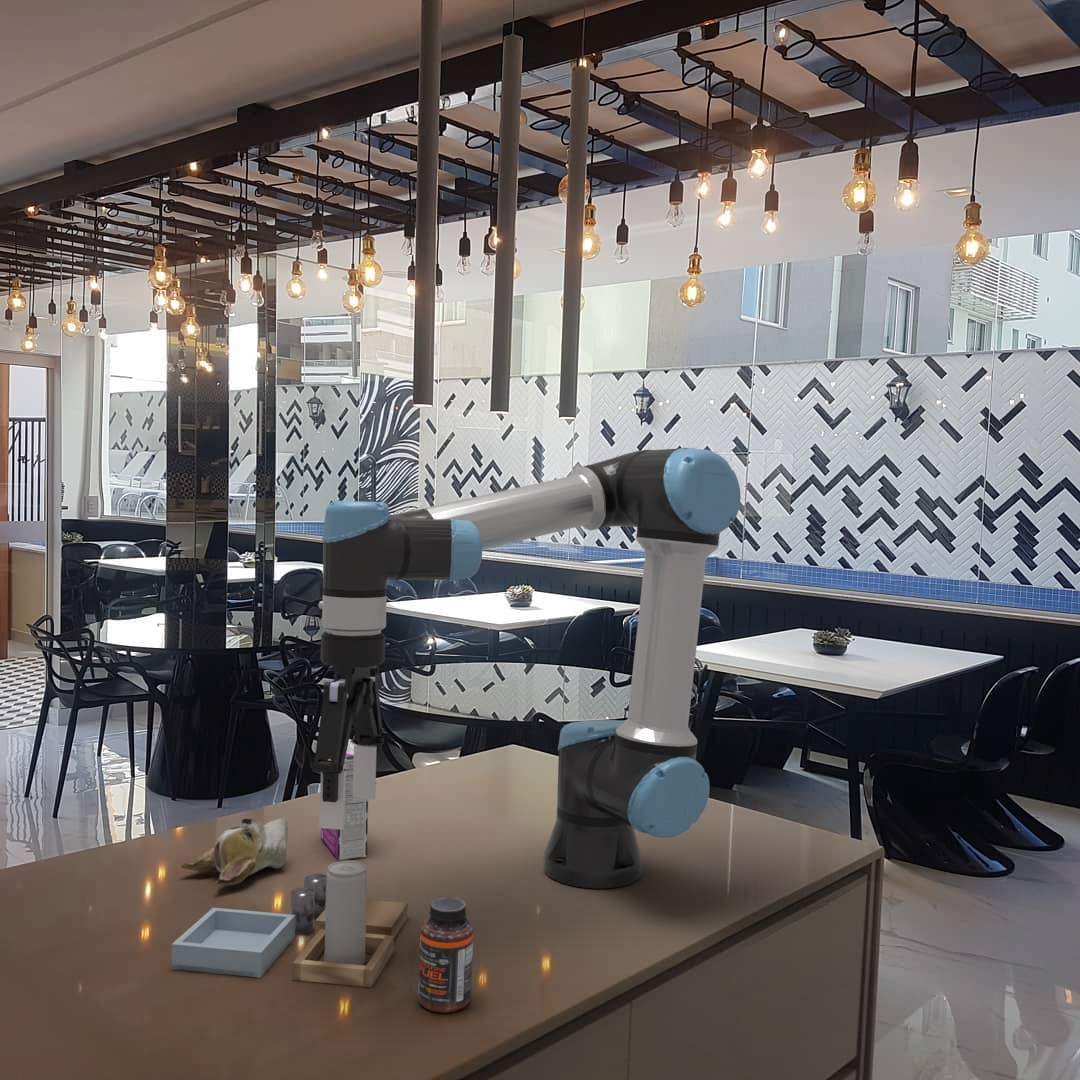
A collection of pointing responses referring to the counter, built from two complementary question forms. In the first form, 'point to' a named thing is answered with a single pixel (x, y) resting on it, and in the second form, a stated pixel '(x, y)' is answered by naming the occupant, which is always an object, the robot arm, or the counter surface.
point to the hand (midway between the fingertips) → (348, 811)
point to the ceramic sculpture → (244, 851)
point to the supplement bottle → (446, 957)
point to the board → (377, 917)
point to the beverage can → (346, 913)
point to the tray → (233, 942)
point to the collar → (343, 973)
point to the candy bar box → (349, 820)
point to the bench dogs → (308, 903)
